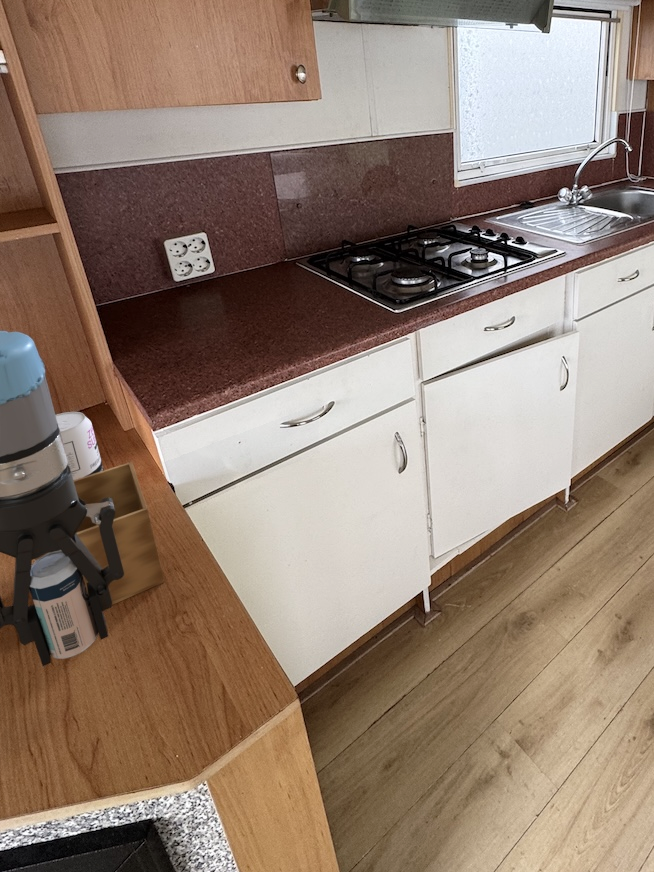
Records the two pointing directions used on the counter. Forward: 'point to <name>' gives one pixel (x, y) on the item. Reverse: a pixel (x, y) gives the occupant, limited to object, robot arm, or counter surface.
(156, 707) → the counter surface
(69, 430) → the supplement can
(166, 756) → the counter surface
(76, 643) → the beer can
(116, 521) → the open box
